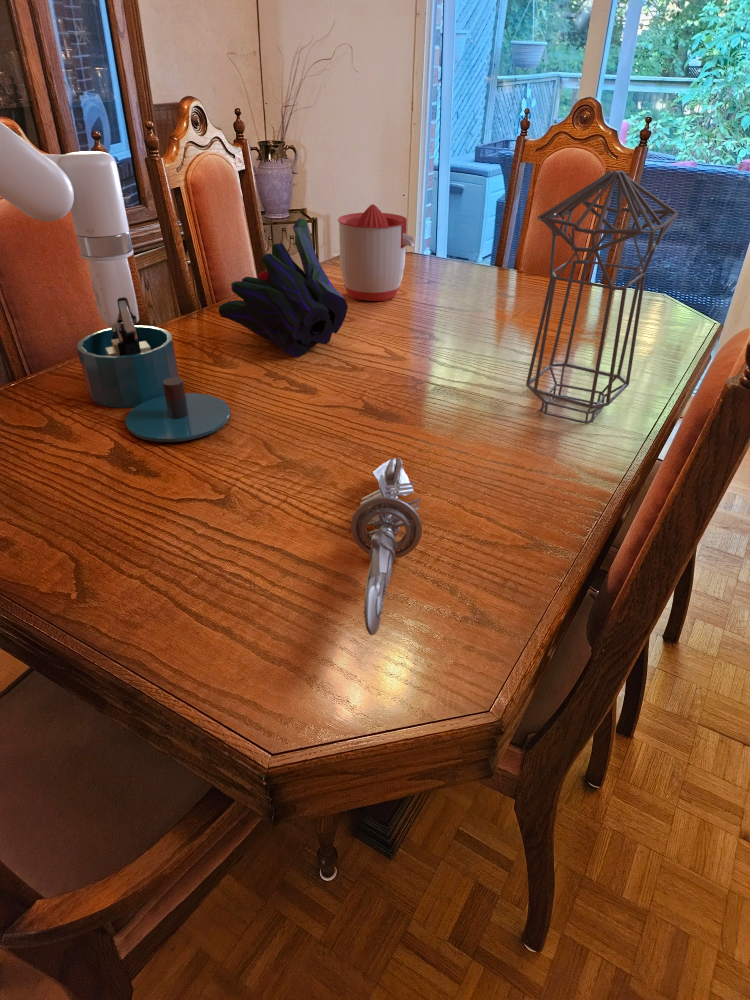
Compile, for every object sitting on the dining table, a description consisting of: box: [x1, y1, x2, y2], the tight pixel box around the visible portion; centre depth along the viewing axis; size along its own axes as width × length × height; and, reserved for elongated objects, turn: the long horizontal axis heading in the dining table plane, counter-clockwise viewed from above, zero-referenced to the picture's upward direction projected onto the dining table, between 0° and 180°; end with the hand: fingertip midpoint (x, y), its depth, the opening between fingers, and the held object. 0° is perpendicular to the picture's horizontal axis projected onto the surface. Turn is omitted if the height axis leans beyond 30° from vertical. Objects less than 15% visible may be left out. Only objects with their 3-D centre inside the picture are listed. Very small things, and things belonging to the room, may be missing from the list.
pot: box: [76, 324, 180, 409], centre depth 110 cm, size 15×15×8 cm
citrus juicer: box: [337, 203, 416, 302], centre depth 152 cm, size 16×17×20 cm
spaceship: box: [350, 457, 423, 636], centre depth 73 cm, size 8×35×8 cm
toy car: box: [105, 339, 151, 356], centre depth 109 cm, size 7×3×4 cm, turn 120°
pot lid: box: [124, 377, 231, 443], centre depth 101 cm, size 16×16×7 cm
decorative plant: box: [218, 217, 349, 358], centre depth 130 cm, size 21×26×30 cm
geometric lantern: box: [525, 169, 679, 425], centre depth 97 cm, size 16×16×35 cm
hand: (129, 359), depth 110 cm, fingers closed on toy car, 3 cm apart
